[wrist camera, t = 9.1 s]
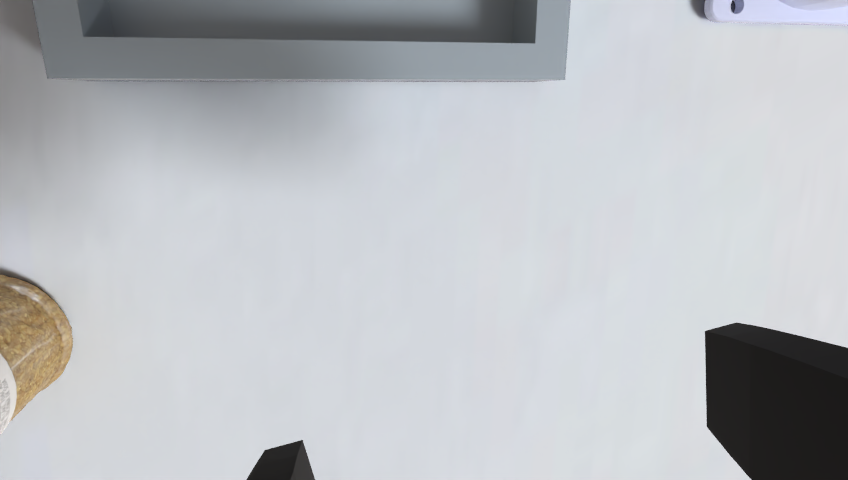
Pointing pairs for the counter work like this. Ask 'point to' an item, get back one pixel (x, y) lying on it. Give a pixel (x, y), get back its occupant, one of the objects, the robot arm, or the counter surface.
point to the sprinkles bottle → (29, 344)
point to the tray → (304, 40)
